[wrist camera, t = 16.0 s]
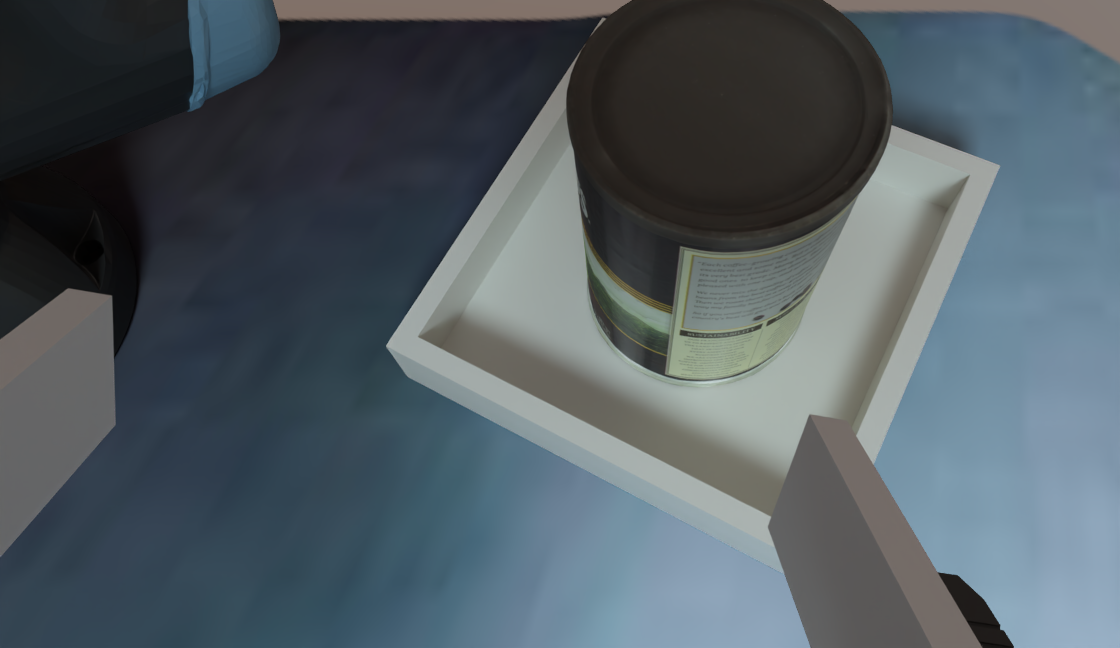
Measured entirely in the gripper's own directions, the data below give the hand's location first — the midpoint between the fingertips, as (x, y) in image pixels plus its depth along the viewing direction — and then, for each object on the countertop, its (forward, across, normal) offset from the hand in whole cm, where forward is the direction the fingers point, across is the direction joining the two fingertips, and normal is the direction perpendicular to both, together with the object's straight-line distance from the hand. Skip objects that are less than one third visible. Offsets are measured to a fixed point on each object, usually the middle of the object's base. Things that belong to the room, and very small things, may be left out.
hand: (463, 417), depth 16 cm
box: (+24, +10, -6) cm, 26 cm away
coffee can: (+23, +10, -5) cm, 26 cm away
